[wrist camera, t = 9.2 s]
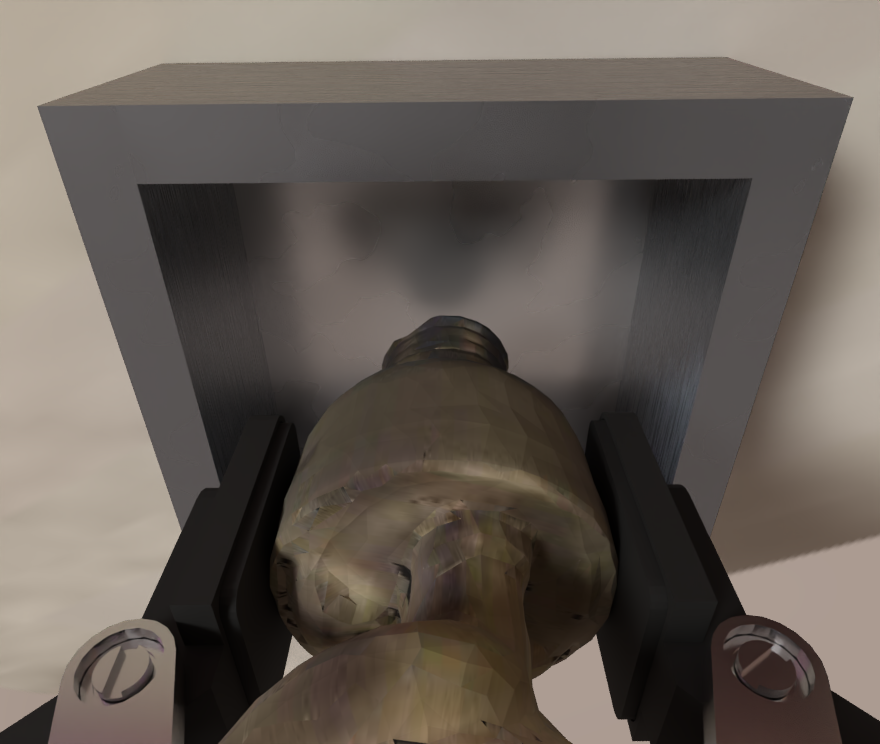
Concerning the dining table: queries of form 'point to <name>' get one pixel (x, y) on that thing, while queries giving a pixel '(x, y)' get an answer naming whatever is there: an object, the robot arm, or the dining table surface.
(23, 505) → the dining table surface
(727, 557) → the dining table surface
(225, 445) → the frame
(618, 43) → the dining table surface
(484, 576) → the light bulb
